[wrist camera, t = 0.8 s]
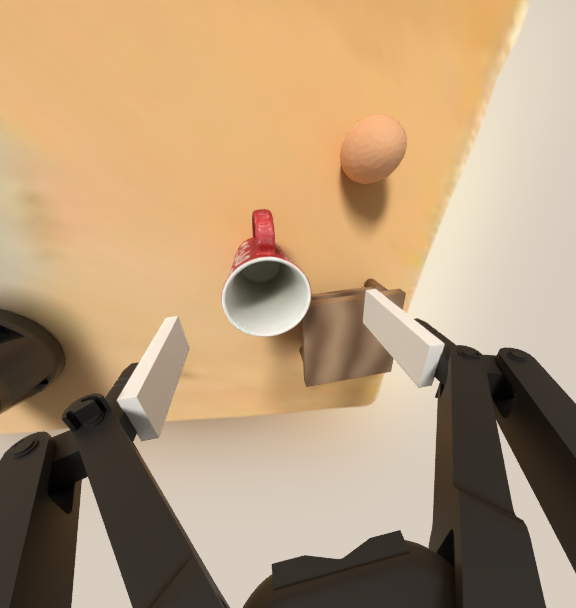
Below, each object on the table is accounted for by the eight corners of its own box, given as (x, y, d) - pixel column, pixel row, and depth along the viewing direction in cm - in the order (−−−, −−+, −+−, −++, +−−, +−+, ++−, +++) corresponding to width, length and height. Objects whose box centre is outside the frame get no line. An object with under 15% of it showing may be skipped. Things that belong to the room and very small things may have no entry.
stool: (297, 357, 45) (306, 386, 38) (292, 286, 38) (302, 307, 31) (370, 344, 46) (390, 371, 40) (378, 274, 39) (405, 293, 33)
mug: (287, 288, 38) (307, 335, 26) (231, 289, 36) (224, 339, 24) (293, 205, 32) (321, 216, 20) (226, 201, 30) (214, 211, 19)
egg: (385, 130, 30) (436, 110, 22) (370, 187, 33) (411, 188, 25) (337, 119, 28) (373, 93, 20) (326, 180, 31) (354, 178, 23)
